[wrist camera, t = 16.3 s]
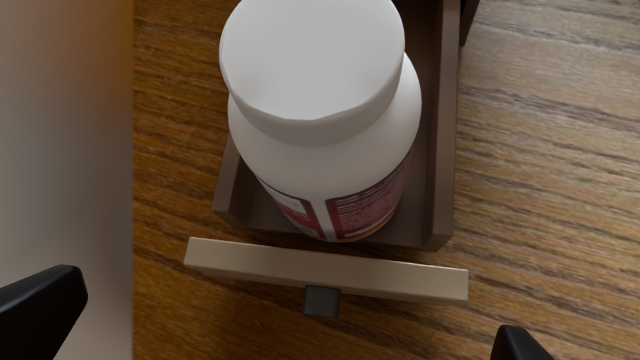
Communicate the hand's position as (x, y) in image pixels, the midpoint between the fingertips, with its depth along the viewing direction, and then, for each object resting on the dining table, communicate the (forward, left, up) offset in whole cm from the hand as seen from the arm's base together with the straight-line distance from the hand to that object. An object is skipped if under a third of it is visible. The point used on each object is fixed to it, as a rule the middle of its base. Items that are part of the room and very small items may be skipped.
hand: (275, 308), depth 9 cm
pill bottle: (+6, +3, -11) cm, 12 cm away
